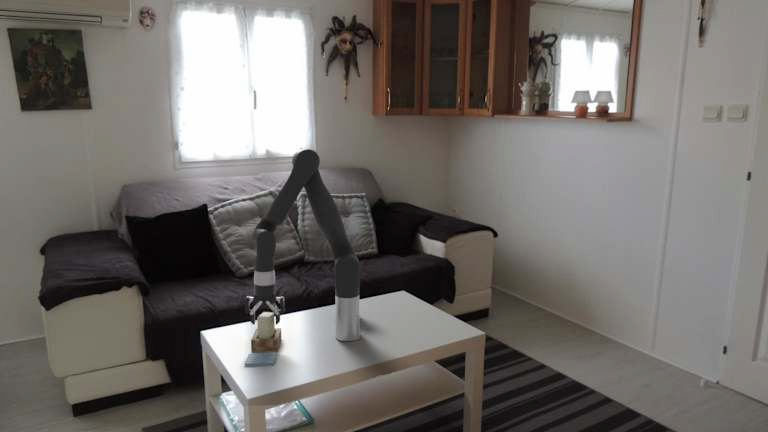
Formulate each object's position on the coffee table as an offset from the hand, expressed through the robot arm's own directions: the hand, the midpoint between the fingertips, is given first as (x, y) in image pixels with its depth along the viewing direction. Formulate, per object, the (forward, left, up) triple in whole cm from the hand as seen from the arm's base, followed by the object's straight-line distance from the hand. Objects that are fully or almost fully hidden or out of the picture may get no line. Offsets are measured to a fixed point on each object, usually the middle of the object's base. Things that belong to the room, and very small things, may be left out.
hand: (265, 323), depth 208 cm
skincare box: (0, 0, -9) cm, 9 cm away
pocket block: (0, 0, -9) cm, 9 cm away
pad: (0, +13, -9) cm, 16 cm away
